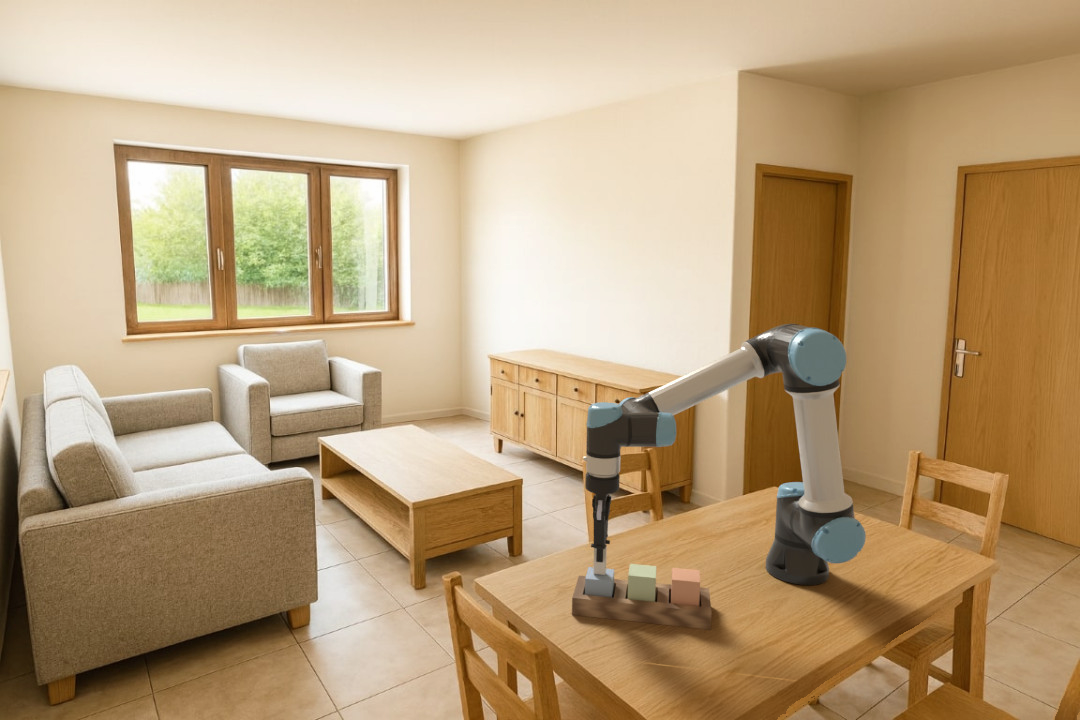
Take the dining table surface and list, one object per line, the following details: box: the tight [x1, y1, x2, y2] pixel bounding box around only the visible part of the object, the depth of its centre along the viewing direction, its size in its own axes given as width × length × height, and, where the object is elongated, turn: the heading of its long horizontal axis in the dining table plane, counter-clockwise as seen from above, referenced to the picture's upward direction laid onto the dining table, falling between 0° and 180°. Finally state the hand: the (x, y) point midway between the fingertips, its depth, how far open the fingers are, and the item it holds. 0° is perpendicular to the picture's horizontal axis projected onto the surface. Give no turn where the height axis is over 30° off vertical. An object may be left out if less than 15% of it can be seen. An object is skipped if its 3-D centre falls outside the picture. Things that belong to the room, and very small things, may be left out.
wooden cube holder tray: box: [571, 575, 712, 631], centre depth 157 cm, size 30×11×4 cm, turn 79°
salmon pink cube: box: [670, 567, 701, 606], centre depth 155 cm, size 6×6×7 cm
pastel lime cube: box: [627, 563, 657, 602], centre depth 157 cm, size 6×6×7 cm
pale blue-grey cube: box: [585, 566, 615, 598], centre depth 159 cm, size 6×6×7 cm
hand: (599, 572), depth 158 cm, fingers closed
